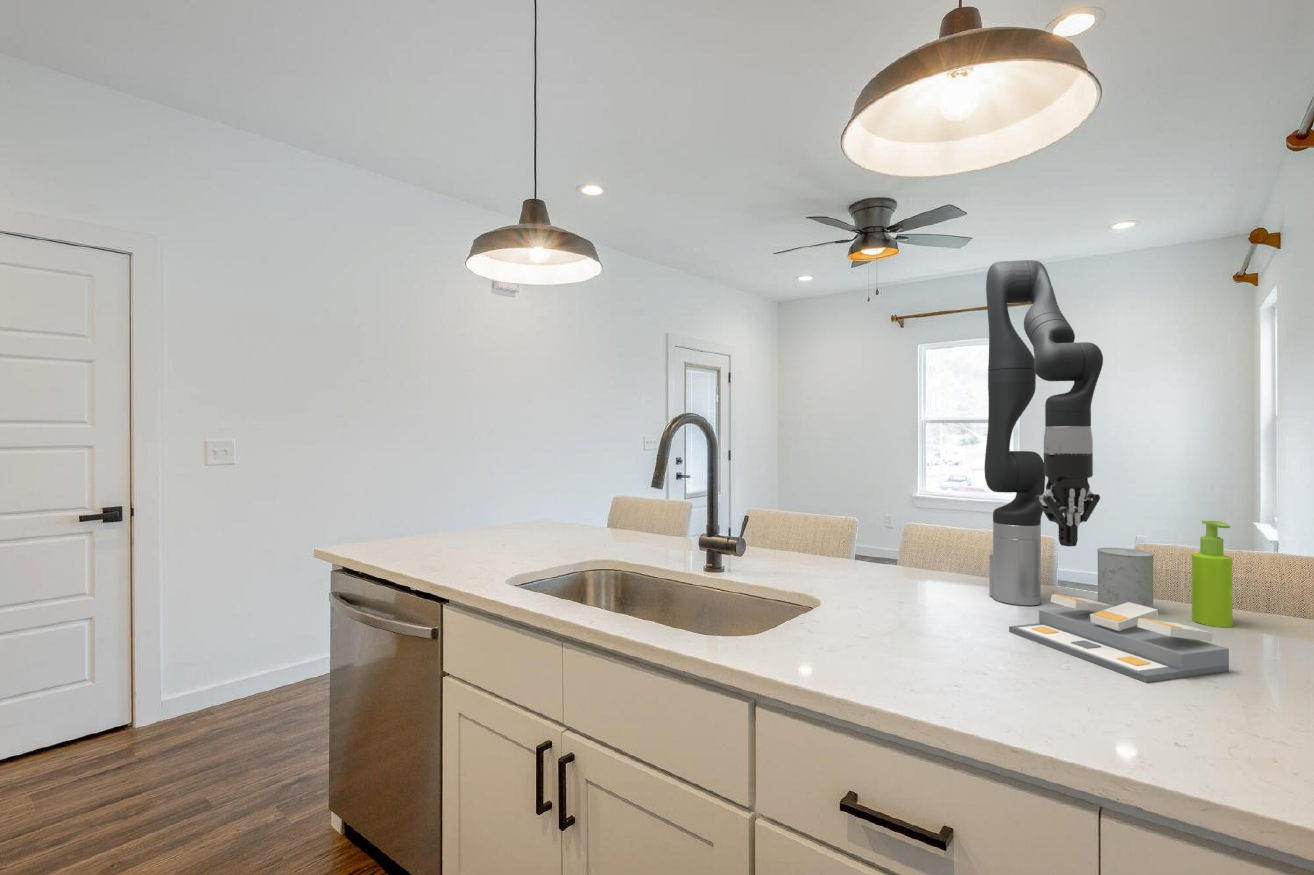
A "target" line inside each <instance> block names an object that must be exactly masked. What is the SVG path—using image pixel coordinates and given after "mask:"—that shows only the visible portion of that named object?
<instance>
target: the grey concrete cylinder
mask: <svg viewBox="0 0 1314 875" xmlns="http://www.w3.org/2000/svg"><path fill="white" fill-rule="evenodd" d="M1096 550H1097V602H1100V603H1104V604H1108V605H1112V606H1114V607H1115V606H1118V605H1121V604H1124V603H1127V602H1130V603H1134V604H1138V605H1142V606H1146V607H1150V608H1154V553H1153V552H1151V551H1147V550H1142V549H1134V548H1125V547H1098V548H1097V549H1096Z"/></svg>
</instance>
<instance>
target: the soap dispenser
mask: <svg viewBox="0 0 1314 875" xmlns="http://www.w3.org/2000/svg"><path fill="white" fill-rule="evenodd" d="M1201 524H1203V525H1205V535H1203V536H1200V539H1199V540H1200V543H1199V545H1200V546H1199V548H1200V552H1197V553H1196V552H1195V553H1192V554H1191V621H1192V620H1193V621H1192V622H1195V623H1196V622H1199V623H1201V624H1200V625H1203V624H1205V625H1204V626H1208V625H1209V627H1214V626H1215V628H1232V627H1233V557H1231V556H1228V555H1224V538H1221V537H1220V536H1218V534H1219V533H1218V530H1219V529H1220V528H1222V529H1230V528H1231V525H1230V524H1228V523H1226V522H1223V521H1220V520H1217V521H1216V520H1201ZM1218 528H1219V529H1218ZM1199 623H1198V624H1199Z"/></svg>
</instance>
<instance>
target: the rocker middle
mask: <svg viewBox="0 0 1314 875" xmlns="http://www.w3.org/2000/svg"><path fill="white" fill-rule="evenodd" d="M1138 618H1140V619H1142V618H1146V619H1153V620H1156V619H1158V618H1160V617H1159V610H1158V608H1154V607H1153V608H1150V607H1146V606H1142V605H1138V604H1134V603H1130V602H1127V603H1124V604H1121V605H1118V606H1115V607H1112V608H1108V609H1105V610H1102V611H1099V612H1096V613H1093V614H1090V620H1091V623H1095V624H1098V625H1101V626H1104V627H1108V628H1111V629H1114V630H1118V631H1120V630H1123V629H1126V628H1129V627H1132V626H1135V625H1138Z"/></svg>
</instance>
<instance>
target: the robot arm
mask: <svg viewBox="0 0 1314 875" xmlns="http://www.w3.org/2000/svg"><path fill="white" fill-rule="evenodd" d="M986 274H987V275H986V281H985V282H986V283H985V286H986V287H985V292H986V294H985V295H986V305H987V306H986V308H987V318H988V319H987V320H988V363H987V364H988V368H987V376H988V377H987V392H988V393H987V394H988V418H987V420H988V422H987V424H988V425H987V434H986V446H985V454H984V456H985V457H984V467H983V468H984V479H985V482H986V485H987V488H988V489H989V490H990V491H991V492H994V493H1016V494H1015V497H1014V499H1013V500H1011V501H1010V502H1009V503H1007V504H1004V505H1002V506H999V507H997V508H994V510H993V511H992V553H991V554H989V597H992V598H993V599H994V600H996V601H998V602H1001V603H1005V604H1010V605H1017V606H1018V605H1019V606H1036V605H1037V606H1038V605H1040V604H1041V602H1042V601H1041V600H1042V596H1041V595H1042V593H1041V592H1042V589H1041V588H1042V537H1041V536H1042V534H1041V532H1042V526H1041V524H1042V520H1041V519H1042V516H1043V513H1044V516H1046V518H1047V520H1048V521H1050V522H1052V523H1055V524H1057V526H1058V543H1059V544H1060V545H1061V546H1063V547H1077V544H1078V532H1079V531H1078V529H1079V526H1080V524H1081V523H1083V522H1084V523H1085V522H1087V521H1088V520H1089V518H1090V517H1091V515H1092V514H1093V511H1094V510H1095V508H1096V506H1097V505H1098V503H1099V501H1100V500H1101V495H1100V494H1097V493H1095V494H1094V493H1093V492H1092V491H1091V490H1090V488H1091V487H1090V484H1089V480H1088V479H1090V478H1093V476H1094V475H1093V474H1094V468H1093V466H1094V465H1093V464H1094V462H1093V460H1094V459H1093V458H1094V457H1093V456H1094V455H1093V454H1094V452H1093V450H1094V449H1093V448H1094V447H1093V446H1094V445H1093V440H1094V439H1093V434H1092V427H1091V426H1092V402H1093V397H1094V393H1095V390H1096V386H1097V383H1098V381H1099V378H1100V375H1101V371H1102V368H1103V366H1104V355H1103V352H1102V350H1101V349H1100V347H1099V346H1098V345H1097V344H1095V343H1094V342H1090V341H1089V342H1087V341H1086V342H1085V341H1084V342H1083V341H1081V342H1075V339H1076V335H1075V332H1074V329H1073V328H1072V326H1071V324H1070V323H1069V322H1068V320H1067V319H1066V317H1065V316H1064V314H1063V313H1062V311H1061V309H1060V307H1059V304H1058V302H1057V298H1056V294H1055V291H1054V288H1053V285H1052V282H1051V279H1050V276H1049V273H1048V270H1047V269H1046V267H1045V265H1044V264H1043V263H1042V262H1041V261H1039V260H1033V259H1029V260H1028V259H1027V260H1026V259H1024V260H1007V261H995V262H993V263H992V264H991V265H990V266H989V268H988V271H987V273H986ZM1026 303H1032V305H1031V306H1030V307H1029V309H1028V310H1027V311H1026V313H1025V316H1024V319H1023V329H1024V331H1025V334H1026V336H1027V338H1028V339H1029V341H1030V344H1031V345H1032V348H1033V349H1032V350H1033V353H1032V352H1031V350H1030V349H1029V347H1028V346H1027V344H1026V343H1025V342H1024V340H1023V339H1022V338H1021V337H1020V335H1019V334H1018V332H1017V331H1016V329H1015V327H1014V326H1013V323H1012V320H1011V318H1010V317H1011V316H1010V314H1009V308H1008V305H1009V304H1026ZM1036 377H1039V378H1040V379H1041V380H1043V381H1047V382H1073V385H1072V387H1071V389H1070V390H1069V391H1067V392H1063V393H1058V394H1054V395H1050V396H1048V397H1047V399H1046V400H1045V404H1044V408H1045V409H1044V415H1045V416H1044V418H1045V419H1044V420H1045V423H1044V424H1045V426H1044V435H1043V458H1042V456H1041V455H1040V454H1039V453H1038V452H1035V451H1033V450H1032V451H1028V450H1015V451H1014V450H1010V445H1011V439H1012V434H1013V431H1014V427H1015V426H1016V424H1017V422H1018V421H1019V419H1020V417H1021V416H1022V414H1023V413H1024V411H1025V410H1026V409H1027V407H1028V406H1029V404H1030V402H1031V401H1032V399H1033V397H1034V395H1035V392H1036V386H1037V385H1036V384H1037V382H1036V381H1037V378H1036ZM1046 477H1047V483H1046Z"/></svg>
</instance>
